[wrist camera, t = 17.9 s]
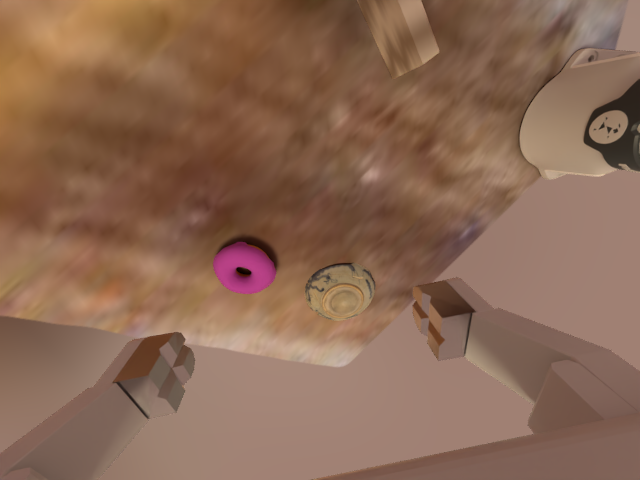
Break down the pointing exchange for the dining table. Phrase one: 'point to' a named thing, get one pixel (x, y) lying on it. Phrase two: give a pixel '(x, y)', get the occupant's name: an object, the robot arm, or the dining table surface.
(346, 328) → the dining table surface
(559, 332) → the robot arm
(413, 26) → the wooden block
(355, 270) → the decorative bowl
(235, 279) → the donut
